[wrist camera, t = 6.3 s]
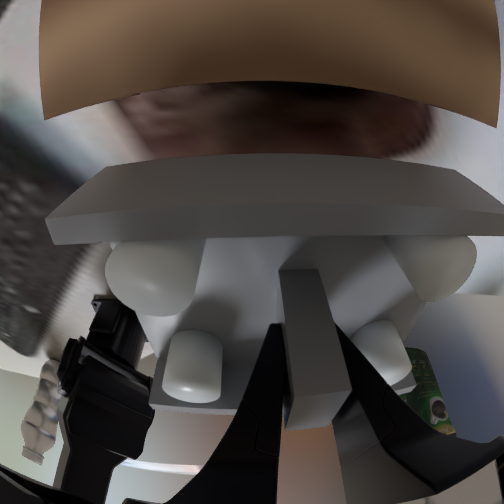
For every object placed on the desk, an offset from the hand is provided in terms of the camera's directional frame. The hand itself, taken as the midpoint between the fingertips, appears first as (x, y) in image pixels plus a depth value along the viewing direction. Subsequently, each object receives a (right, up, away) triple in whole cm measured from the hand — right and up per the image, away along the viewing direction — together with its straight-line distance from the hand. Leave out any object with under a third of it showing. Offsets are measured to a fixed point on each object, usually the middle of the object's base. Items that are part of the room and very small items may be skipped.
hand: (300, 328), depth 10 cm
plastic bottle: (-36, -17, +27) cm, 48 cm away
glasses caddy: (0, +2, +2) cm, 3 cm away
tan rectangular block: (0, +19, +2) cm, 19 cm away
